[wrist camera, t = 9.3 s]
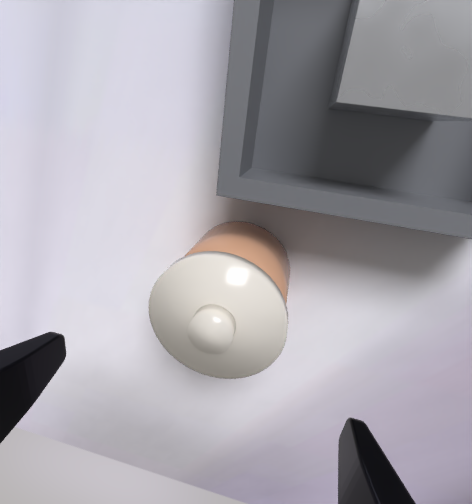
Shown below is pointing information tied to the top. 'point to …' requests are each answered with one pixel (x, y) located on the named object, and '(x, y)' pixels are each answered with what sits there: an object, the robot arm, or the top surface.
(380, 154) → the tote
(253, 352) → the ceramic canister
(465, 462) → the top surface
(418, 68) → the steel block
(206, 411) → the top surface
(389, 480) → the robot arm
